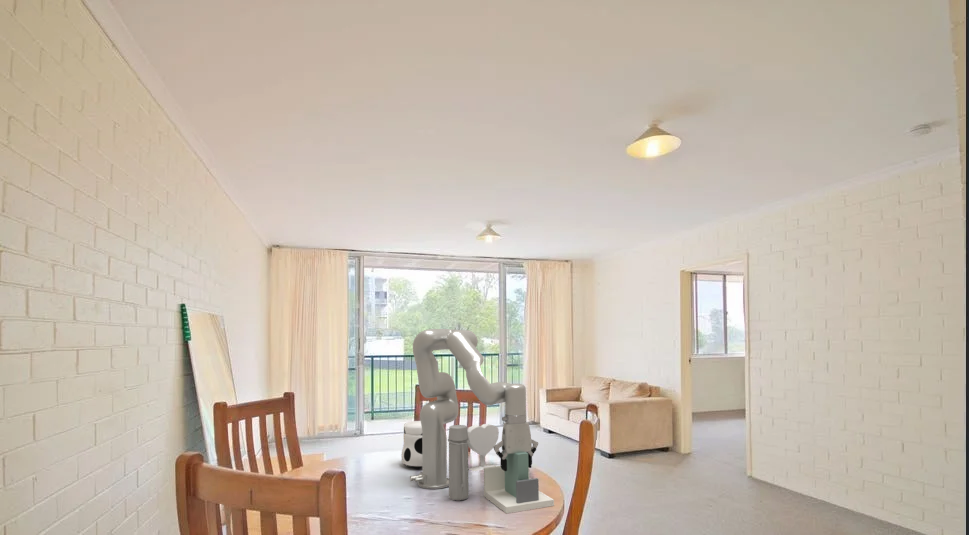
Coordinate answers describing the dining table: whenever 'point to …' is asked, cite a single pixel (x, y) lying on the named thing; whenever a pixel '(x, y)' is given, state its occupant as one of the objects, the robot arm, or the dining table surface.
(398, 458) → the dining table surface
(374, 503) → the dining table surface
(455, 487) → the water bottle
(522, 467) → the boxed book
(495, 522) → the dining table surface
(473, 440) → the heart sculpture
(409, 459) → the milk container
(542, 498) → the shelf
